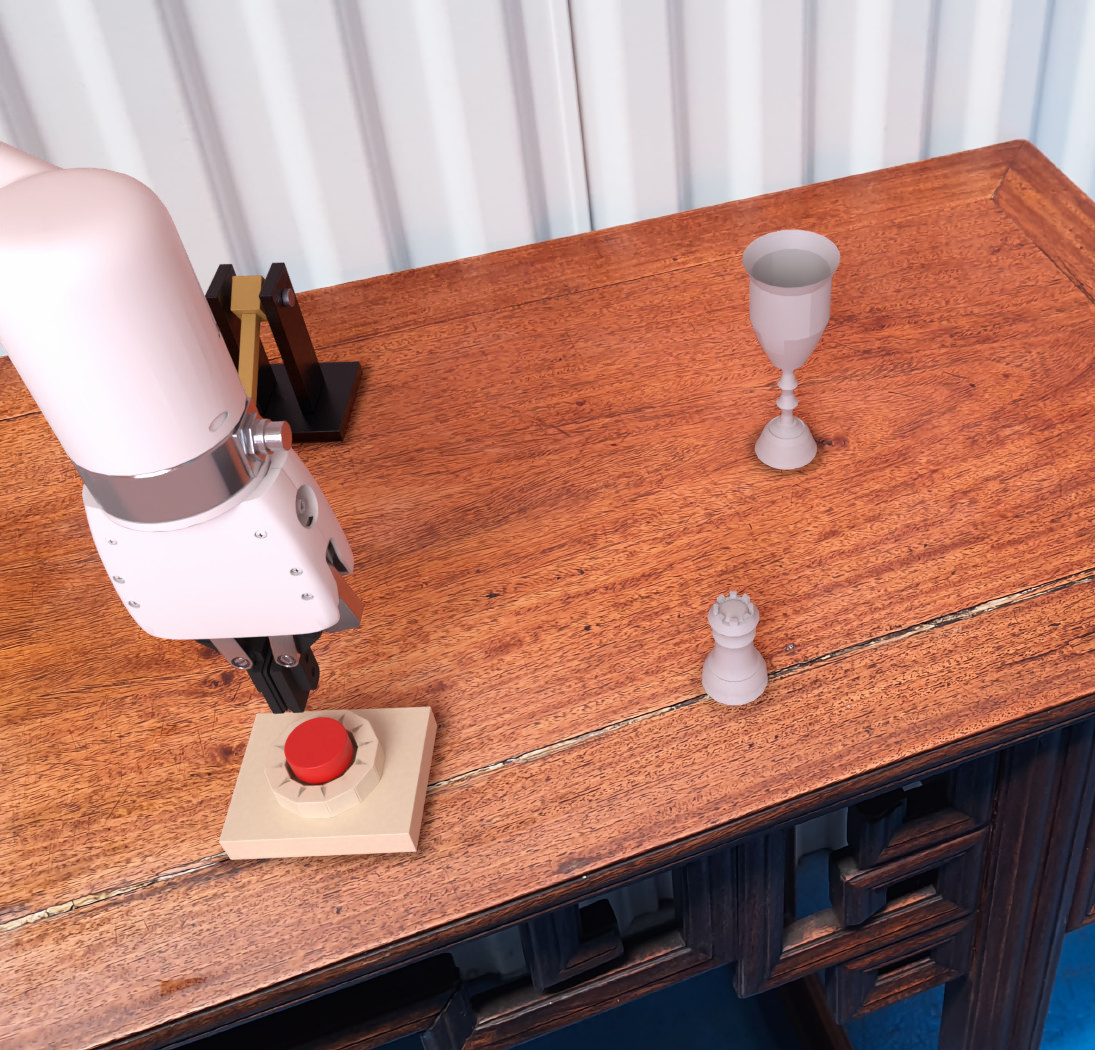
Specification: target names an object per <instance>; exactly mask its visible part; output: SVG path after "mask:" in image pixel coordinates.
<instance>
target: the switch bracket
mask: <svg viewBox="0 0 1095 1050" xmlns="http://www.w3.org/2000/svg"><path fill="white" fill-rule="evenodd" d="M233 276H237V273H236V270H235V268H234V265H233V263H220V264H219V265H218V267H217V269H216V271H215V273H214V275H213V277H212V280H211V282H210V284H209V286H208V288H207V290H206V293H204V295H205V297H206V300H207V302H208V305H209V307H210V309H211V312H212V314H213V316H214V319H215V321H216V324H217V325H218V328H219V330H220V333H221V335H222V337H223V340H224V342H225V344H226V347H227V349H228V352H229V354H230V356H231V359H232V361H233V363H234V366H235V368H236V371H237V373H238V372H239V355H240V337H241V319H240V318H238V317H237V316H236V315H235V314H234V313H233V312H232V311H231V296H232V279H233ZM264 279H265V281H264V283H263V286H262V288H261V291H260V293H259V299H260V301H261V304H262V307H263V310H264V312H265V315H266V318H267V320H268V321H267V324H268V327H269V329H270V331H271V334H272V337H273V338H274V342H275V345H276V347H277V350H278V353H279V356H280V358H281V361H282V363H271V362H270V360H269V358H268V354H267V352H266V349H265V346H264V344H263V341H262V338H260V341H259V360H258V379H257V397H256V408H257V410H258V412H259V415H260V416H261V417H263V418H264V419H270V420H271V421H272V422H277V421H286V422H288V424H289V425H290V428H291V432H292V444H307V443H335V442H336V443H337V442H338V443H340V442H343V441H344V438H345V434H346V431H347V427H348V424H349V421H350V418H351V414H352V410H353V407H354V404H355V400H356V396H357V394H358V390H359V386H360V383H361V380H362V376H363V373H364V371H363V367H362V365H361V362H360V361H359V360H357V361H356V360H355V361H353V360H351V361H322V362H321V361H319V359H318V356H317V353H316V351H315V347H314V344H313V341H312V339H311V336H310V333H309V329H308V327H307V324H306V321H305V318H304V315H303V312H302V309H301V307H300V304H299V303H300V302H299V301H298V298H297V295H296V292H295V289H294V286H293V283H292V281H291V278H290V275H289V271H288V268H287V266H286V262H272V263H271V265H270V267H269V269H268V272H267V274H266V276H265V278H264Z"/></svg>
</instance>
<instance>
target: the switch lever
mask: <svg viewBox="0 0 1095 1050" xmlns="http://www.w3.org/2000/svg"><path fill="white" fill-rule="evenodd" d="M265 279H266V278H265V277H264V276H263V275H260V274H258V275H257V274H255V275H236V276H233V279H232V296H231V311H232V312H233V313H234V314H235V315H236V316H237V317H238V318H240V319H241V337H240V355H239V372H238V375H239V378H240V380H241V382H242V385H243V388H244V389H245V392H246V394H247V397H252V398H253V400H254V403H255V405H256V397H257V379H258V360H259V341H260V339H261V323H263V322H268V320H267V318H266V315H265V312H264V310H263V307H262V304H261V301H260V299H259V293H260V291H261V288H262V286H263V283H264V281H265Z"/></svg>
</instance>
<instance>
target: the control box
mask: <svg viewBox="0 0 1095 1050" xmlns="http://www.w3.org/2000/svg"><path fill="white" fill-rule="evenodd" d="M318 717H328V718H332V719H335V720H337V721H339V722H340V723H341V724H342V725H343V726H344V728H345V729H346V732H347V734H348V736H349V738H350V741H351V743H352V745H353V749H354V754H353V758H352V761H351V763H350V765H349V767H348V768H347V769H346V770H345V771H344V772H343V773H342V774H341V775H340V776H338V777H337V778H335V779H333V780H331V781H329V782H325V783H321V784H311V783H306V782H304V781H302V780H300V779H299V778H297V777H296V775H295V774H294V772H293V770H292V768H291V766H290V765H289V763H288V761H287V759H286V757H285V754H284V746H285V742H286V739H287V737H288V736H289V734H290V733H291V732H292V731H293V730H294V729H295V728H296V727H297V726H298V725H300V724H301V723H303V722H305V721H307V720H310V719H313V718H318ZM437 731H438V723H437V721H436V718H435V715H434V712H433V709H432V706H407V707H406V706H405V707H382V708H380V707H379V708H360V709H359V708H358V709H357V708H356V709H346V708H345V709H321V710H308V711H307V710H305V711H304V712H303V713H293V712H292V711H285V713H284V714H273V713H272V712H258V713H256V714H255V717H254V720H253V725H252V727H251V731H250V734H249V737H248V741H247V745H246V748H245V752H244V755H243V759H242V761H241V764H240V768H239V772H238V774H237V775H238V776H237V778H236V782H235V785H234V789H233V792H232V796H231V799H230V803H229V806H228V809H227V812H226V815H225V820H224V823H223V825H222V830H221V832H220V837H219V840H218V843H219V844H220V846H221V847H222V849H223V851H224V852H225V854H226V855H227V857H228V858H229V859H230V860H231V861H233V860H234V861H235V860H236V861H237V860H257V859H258V860H259V859H279V858H281V859H283V858H302V857H303V858H304V857H324V856H325V857H326V856H327V857H328V856H350V855H369V854H370V855H371V854H372V855H373V854H392V853H416V852H417V851H418V845H419V838H420V833H421V827H422V822H423V815H424V809H425V803H426V797H427V790H428V784H429V779H430V772H431V766H432V761H433V755H434V748H435V742H436V736H437Z"/></svg>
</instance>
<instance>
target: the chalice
mask: <svg viewBox="0 0 1095 1050" xmlns="http://www.w3.org/2000/svg"><path fill="white" fill-rule="evenodd" d="M741 262H742V263H741V264H742V266H743V268H744V269H745V271H746V274H747V275H748V277H749V322H750V324H751V326H752V329H753V331H754V334H755V336H756V339H757V341H758V343H759V346H760V347H761V348H762V350H763V352H764V353H765V355H766V356H767V358H768V360H769V361H770V363H771V364H772V366H773V367H775V368H776V369H778V370H781V371H782V372H781V376H780V379H779V380H777V386H778V388H779V389H780V391H781V394H780V396H778V397H777V398H776V400H775V404H776V406H777V407H778V408H779V409H780V413H781V414H780V415H777V416H775V417H773V418H772V419H771V420H769V421H768V422H767V423H766V424H765V426H764V427H763V430H762V431H761V433H760V435H759V437H757V440H756V442H755V443H754V444H755V445H754V453H755V454H756V456H757V459H758V460H760V461H761V462H762V463H763V464H764V465H766V466H769V467H770V468H773V469H778V470H784V471H785V470H796V469H800V468H803V467H804V466H807V465H808V464H810V463H811V462H812V461H813V460H814V459H815V458H816V455H817V453H818V445H817V442H816V441H815V439H814V437H813V434H812V432H811V431H810V428H809V426H808V425H807V423H806V422H805V421H804V420H802V419H801V418H799V417H797V416H795V415H794V414H793V412H794V410H795V408H797V406H798V405H799V399H798V397H796V396H795V394H794V391H795V389H796V388H797V387H798V385H799V381H798V380H797V378H796V376H795V370H798V369H800V368H802V367H803V366H804V365H805V364H806V363H807V361H808V359H810V357H811V355H812V353H814V350H815V349H816V347H817V346H818V344H819V342H820V341H821V338H822V336H823V334H824V332H825V329H826V327H827V326H828V323H829V321H830V318H831V306H832V290H833V289H832V287H833V286H832V285H833V276H834V274H835V273H836V271H837V269H838V267H839V265H840V263H841V252H840V250H839V248H838V247H837V245H836V244H835V243H834V242H833V241H831V239H829V238H828V237H826V236H825V235H822V234H819V233H817V232H814V231H810V230H805V229H804V230H802V229H782V230H776V231H771V232H768V233H766V234H764V235H762V236H759V237H757V238H755V239H754V240H753V241H751V242H750V244H748V245H747V246H746V248H745V249H744V251H743V253H742V260H741Z"/></svg>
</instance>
